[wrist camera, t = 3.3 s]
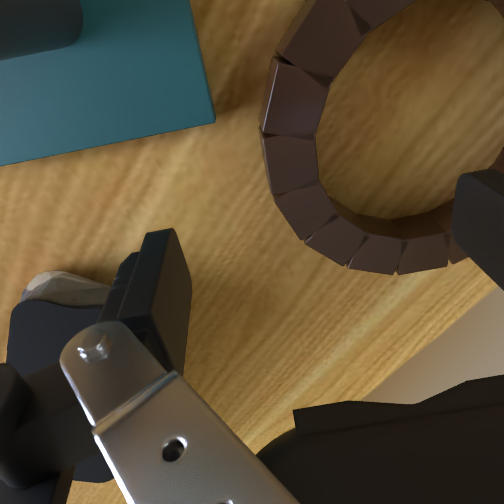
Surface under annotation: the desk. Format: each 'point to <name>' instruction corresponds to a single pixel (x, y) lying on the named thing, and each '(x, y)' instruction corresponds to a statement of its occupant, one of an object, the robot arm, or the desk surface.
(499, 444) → the robot arm
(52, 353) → the black board eraser
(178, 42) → the post stand
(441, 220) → the ring
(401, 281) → the desk surface
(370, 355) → the desk surface
